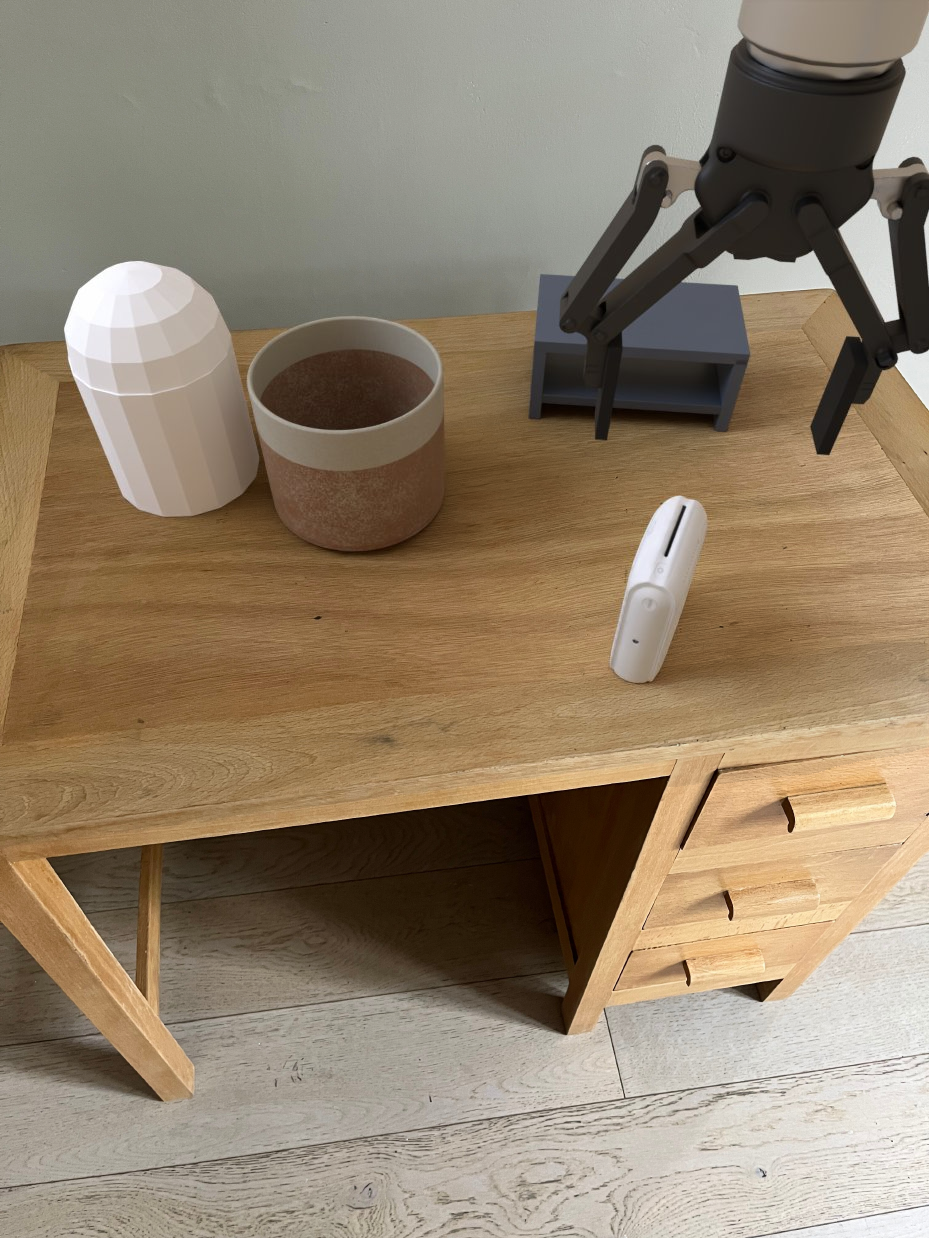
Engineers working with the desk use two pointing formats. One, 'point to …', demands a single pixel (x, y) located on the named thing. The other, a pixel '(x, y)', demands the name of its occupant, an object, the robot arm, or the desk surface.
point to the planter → (351, 430)
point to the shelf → (650, 353)
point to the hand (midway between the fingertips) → (709, 434)
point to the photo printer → (658, 588)
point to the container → (162, 388)
